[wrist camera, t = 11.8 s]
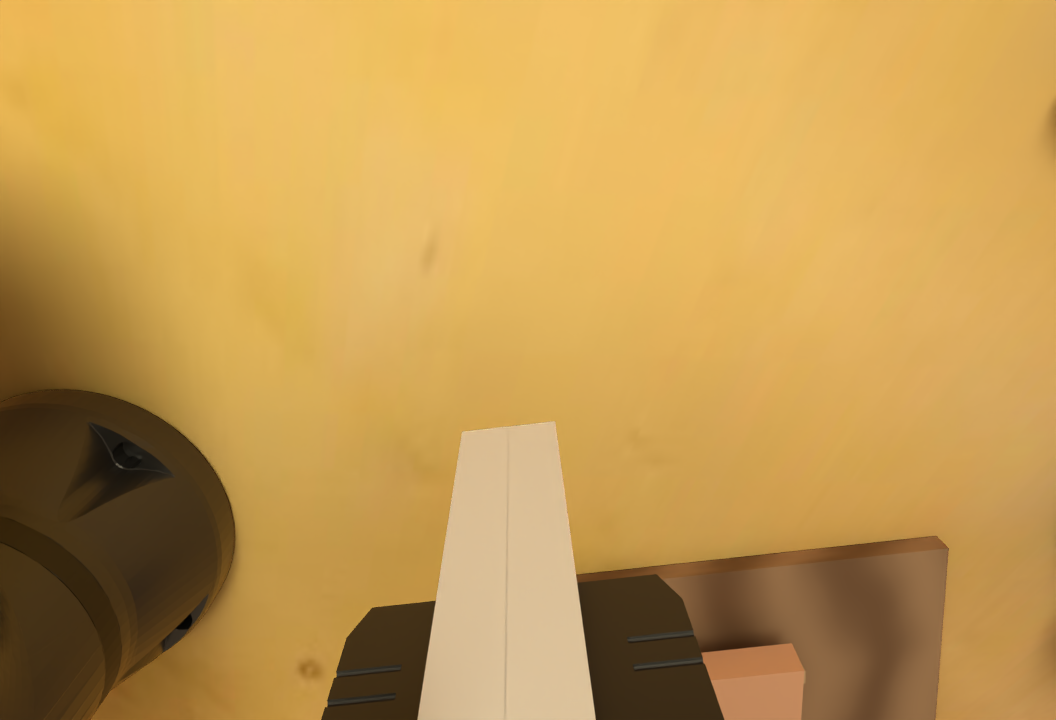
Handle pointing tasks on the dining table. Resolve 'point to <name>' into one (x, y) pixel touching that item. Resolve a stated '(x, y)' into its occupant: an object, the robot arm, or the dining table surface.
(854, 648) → the board
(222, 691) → the dining table surface
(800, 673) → the tile
